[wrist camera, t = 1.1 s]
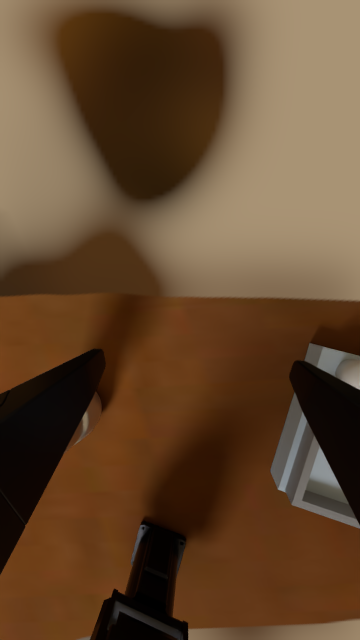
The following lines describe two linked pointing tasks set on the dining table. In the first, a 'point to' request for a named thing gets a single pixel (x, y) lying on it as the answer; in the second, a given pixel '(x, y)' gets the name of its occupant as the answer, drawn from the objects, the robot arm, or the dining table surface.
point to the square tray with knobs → (314, 447)
